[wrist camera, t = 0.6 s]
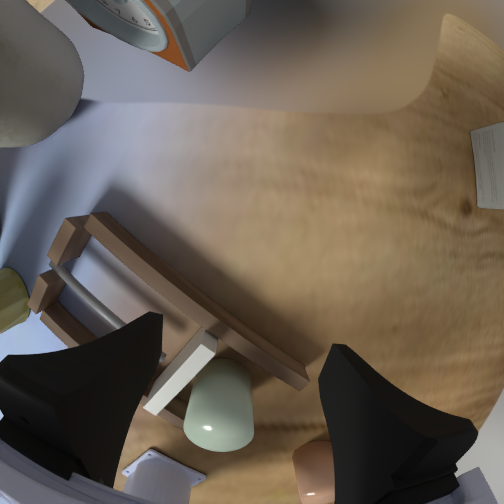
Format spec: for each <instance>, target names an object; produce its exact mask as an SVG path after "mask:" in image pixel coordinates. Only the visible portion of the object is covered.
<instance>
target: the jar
mask: <svg viewBox="0 0 504 504" xmlns="http://www.w3.org/2000/svg"><path fill="white" fill-rule="evenodd" d="M292 458H293V463H294V469H295V474H296V479H297V484H298V489H299V495H300V500H301V502H302V503H303V504H326V503H330V502H333V501H335V478H334V462H333V452H332V444H331V442H329V441H323V440H320V441H313V442H309V443H306V444H304V445H302V446H300V447H299V448H298V449H296V450H295V452H294V453H293V456H292Z"/></svg>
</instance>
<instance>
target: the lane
mask: <svg viewBox="0 0 504 504" xmlns="http://www.w3.org/2000/svg"><path fill="white" fill-rule="evenodd" d="M91 236H93V237H95V238H96V239H97V240H98V241H99V242H100V243H101V244H102V245H103V246H104V247H105V248H106V249H108V250H109V251H110V252H111V253H112V254H113V255H114V256H115V257H116V258H118V259H119V260H120V261H121V262H122V263H123V264H124V265H126V266H127V267H128V268H129V269H130V270H131V271H133V272H134V273H135V274H136V275H137V276H138V277H140V278H141V279H142V280H143V281H144V282H146V283H147V284H148V285H149V286H151V287H152V288H153V289H154V290H155V291H157V292H158V293H159V294H160V295H162V296H163V297H164V298H165V299H167V300H168V301H169V302H170V303H172V304H173V305H174V306H176V307H177V308H178V309H179V310H181V311H182V312H183V313H185V314H186V315H187V316H189V317H190V318H191V319H193V320H194V321H195V322H197V323H198V324H199V325H201V326H202V327H203V328H205V329H206V330H208V331H209V332H210V333H212V334H213V335H215V336H216V337H217V338H219V339H220V340H222V341H223V342H224V343H226V344H227V345H229V346H230V347H232V348H233V349H235V350H236V351H237V352H239V353H240V354H242V355H243V356H245V357H246V358H248V359H249V360H251V361H252V362H254V363H255V364H257V365H259V366H260V367H262V368H263V369H265V370H266V371H268V372H269V373H271V374H273V375H274V376H276V377H277V378H279V379H281V380H282V381H284V382H285V383H287V384H289V385H290V386H292V387H294V388H295V389H297V390H299V391H300V390H302V389H303V388H304V387H305V386H306V385H307V384H308V383H309V382H310V380H309V377H308V375H307V372H306V369H305V366H304V365H303V364H301V363H300V362H298V361H297V360H295V359H294V358H292V357H291V356H289V355H288V354H286V353H285V352H283V351H282V350H280V349H279V348H277V347H276V346H275V345H273V344H272V343H270V342H269V341H267V340H266V339H265V338H263V337H262V336H260V335H259V334H258V333H256V332H255V331H253V330H252V329H251V328H249V327H248V326H246V325H245V324H244V323H242V322H241V321H240V320H238V319H237V318H235V317H234V316H233V315H231V314H230V313H229V312H227V311H226V310H225V309H223V308H222V307H221V306H219V305H218V304H217V303H215V302H214V301H213V300H212V299H210V298H209V297H208V296H206V295H205V294H204V293H202V292H201V291H200V290H199V289H197V288H196V287H195V286H193V285H192V284H191V283H190V282H188V281H187V280H186V279H185V278H183V277H182V276H181V275H180V274H178V273H177V272H176V271H175V270H173V269H172V268H171V267H170V266H168V265H167V264H166V263H165V262H164V261H162V260H161V259H160V258H159V257H158V256H156V255H155V254H154V253H153V252H152V251H150V250H149V249H148V248H147V247H146V246H144V245H143V244H142V243H141V242H140V241H139V240H137V239H136V238H135V237H134V236H133V235H132V234H130V233H129V232H128V231H127V230H126V229H125V228H124V227H122V226H121V225H120V224H119V223H118V222H117V221H116V220H114V219H113V218H112V217H111V216H110V215H109V214H108V213H107V212H100V213H91V214H90V215H84V216H77V217H69V218H65V219H64V221H63V223H62V225H61V227H60V229H59V231H58V233H57V235H56V237H55V239H54V241H53V243H52V246H51V248H50V250H49V252H48V254H47V256H48V257H49V258H50V260H51V261H52V262H53V263H54V264H55V265H56V266H57V265H60V264H62V263H65V262H67V261H70V260H72V259H75V258H77V257H80V255H81V253H82V251H83V250H84V248H85V246H86V244H87V243H88V241H89V239H90V237H91ZM65 284H66V282H65V281H64V280H63V279H62V278H61V277H60V276H59V275H58V274H57V273H56V272H55V271H54V270H53V269H51V270H49V271H47V272H44V273H42V274H40V275H38V278H37V280H36V283H35V285H34V288H33V291H32V293H31V296H30V299H29V302H28V304H27V305H28V306H29V307H30V308H31V310H32V311H33V312H34V313H35V314H38V313H39V312H41V311H42V310H43V311H42V314H41V317H40V320H41V321H42V322H43V323H44V324H45V325H46V326H47V327H48V328H49V329H50V330H51V331H52V332H53V333H54V334H55V335H56V336H57V337H58V338H59V339H60V340H61V341H62V342H63V343H64V344H65V345H66V346H68V347H69V348H72V347H76V346H80V345H83V344H85V343H88V342H91V341H94V340H96V339H98V338H97V337H96V336H95V335H93V334H92V333H91V332H90V331H89V330H88V329H87V328H85V327H84V326H83V325H82V324H81V323H80V322H79V321H78V320H77V319H76V318H75V317H73V316H72V315H71V314H70V313H69V312H68V311H67V310H66V309H65V308H64V307H63V306H62V305H61V304H60V303H59V302H58V299H59V297H60V295H61V293H62V291H63V288H64V286H65ZM153 384H154V381H153V380H151V381H150V383H149V385H148V387H147V389H146V391H145V393H144V395H143V397H142V399H141V401H140V404H142V405H143V406H144V404H145V402H146V400H147V398H148V395H149V393H150V391H151V389H152V386H153ZM187 408H188V403H186V402H185V401H183V400H181V399H180V398H178V397H177V396H175V397H174V398H173V399H172V400H171V401H170V402H169V403H168V404H167V405H166V406H165V407H164V408H163V409H162V410H161V411H160V412H159V413H158V414H157V415H159V416H160V417H162V418H164V419H165V420H167V421H169V422H170V423H172V424H174V425H175V426H177V427H179V428H181V429H182V430H184V427H183V426H184V420H185V416H186V412H187Z"/></svg>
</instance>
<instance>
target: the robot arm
mask: <svg viewBox="0 0 504 504" xmlns="http://www.w3.org/2000/svg"><path fill="white" fill-rule="evenodd" d="M162 329H163V315H162V314H158V313H154V312H150V311H149V312H148V313H146V314H144V315H142V316H140V317H139V318H137V319H135V320H134V321H132V322H130V323H128V324H127V325H125V326H123V327H121V328H119V329H117V330H115V331H113V332H111V333H109V334H107V335H105V336H103V337H101V338H99V339H96V340H94V341H91V342H88V343H85V344H83V345H80V346H76V347H72V348H68V349H64V350H60V351H55V352H49V353H41V354H29V355H7V356H6V357H5V358H4V359H3V360H2V361H1V362H0V410H1V412H2V414H3V415H4V416H3V418H2V419H1V420H0V497H2V498H3V499H4V500H6V501H7V502H8V503H10V504H189V499H190V492H191V487H193V486H194V485H196V484H198V483H200V482H202V481H203V480H205V479H206V475H204V474H202V473H200V472H197V471H195V470H193V469H191V468H189V467H186V466H184V465H182V464H180V463H178V462H176V461H174V460H172V459H170V458H168V457H166V456H164V455H163V454H161V453H159V452H157V451H155V450H153V449H149V450H147V451H146V452H145V453H144V454H142V455H141V456H140V457H139V458H138V459H136V460H135V461H134V462H132V463H131V464H130V465H129V466H127V467H126V468H125V469H123V470H122V474H123V475H125V476H127V479H126V482H125V485H124V488H123V491H122V492H121V491H118V490H115V489H113V486H114V481H115V476H116V472H117V468H118V464H119V460H120V456H121V452H122V449H123V446H124V442H125V439H126V436H127V433H128V430H129V427H130V424H131V421H132V418H133V416H134V413H135V411H136V409H137V407H138V405H139V403H140V401H141V399H142V397H143V395H144V393H145V391H146V389H147V387H148V385H149V383H150V381H151V379H152V377H153V375H154V373H155V371H156V368H157V365H158V363H159V360H160V357H161V354H162ZM318 382H319V392H320V399H321V403H322V407H323V411H324V415H325V419H326V423H327V427H328V431H329V434H330V439H331V444H332V452H333V462H334V478H335V502H334V504H498V503H497V501H496V498H495V497H494V495H493V493H492V491H491V489H490V487H489V485H488V483H487V481H486V479H485V477H484V475H483V473H482V472H481V470H480V468H479V467H477V468H475V469H472V470H470V471H468V472H466V473H464V474H462V475H460V476H459V477H457V478H456V476H455V474H454V473H455V472H456V471H457V470H458V468H457V466H456V464H455V463H456V462H457V461H458V460H459V459H460V458H461V457H462V456H463V455H464V454H465V453H466V452H467V451H468V450H469V449H470V448H471V447H472V445H473V444H474V443H475V441H476V439H477V436H478V431H477V429H476V428H475V426H474V425H473V423H472V422H471V420H469V419H466V418H462V417H458V416H455V415H451V414H448V413H445V412H442V411H440V410H437V409H435V408H432V407H430V406H428V405H426V404H424V403H422V402H420V401H418V400H416V399H414V398H413V397H411V396H409V395H408V394H406V393H405V392H403V391H401V390H400V389H398V388H397V387H396V386H394V385H393V384H391V383H390V382H389V381H388V380H386V379H385V378H384V377H383V376H381V375H380V374H379V373H378V372H377V371H375V370H374V369H373V368H372V367H371V366H370V365H369V364H367V363H366V362H365V361H364V360H363V359H362V358H361V357H360V356H359V355H357V354H356V353H355V352H354V351H353V350H352V349H351V348H349V347H348V346H347V345H344V344H334V343H333V344H332V347H331V349H330V352H329V354H328V357H327V359H326V361H325V364H324V366H323V369H322V371H321V373H320V376H319V378H318Z"/></svg>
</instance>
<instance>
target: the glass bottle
mask: <svg viewBox="0 0 504 504" xmlns="http://www.w3.org/2000/svg"><path fill="white" fill-rule="evenodd" d="M83 82H84V71H83V66H82V62H81V60H80V57H79V54H78V52H77V50H76V48H75V46H74V45H73V43H72V42H71V41H70V39H69V38H68V37H67V36H66V35H65V34H64V33H63V32H62V31H60V30H59V29H58V28H57V27H56V26H55V25H53V24H52V23H51V22H50V21H49V20H47V19H46V18H45V17H44V16H43V15H41V14H40V13H39V12H38V11H37V10H36V9H35V8H34V7H33V6H32V5H31V4H29V3H28V2H27V1H26V0H0V147H23V146H28V145H32V144H35V143H38V142H40V141H42V140H44V139H45V138H47V137H49V136H50V135H51V134H53V133H54V132H55V131H56V130H58V129H59V128H60V127H61V126H62V125H63V124H64V123H65V122H66V121H67V120H68V119H69V118H70V116H71V115H72V114H73V112H74V110H75V108H76V107H77V105H78V102H79V100H80V98H81V95H82V89H83Z"/></svg>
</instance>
